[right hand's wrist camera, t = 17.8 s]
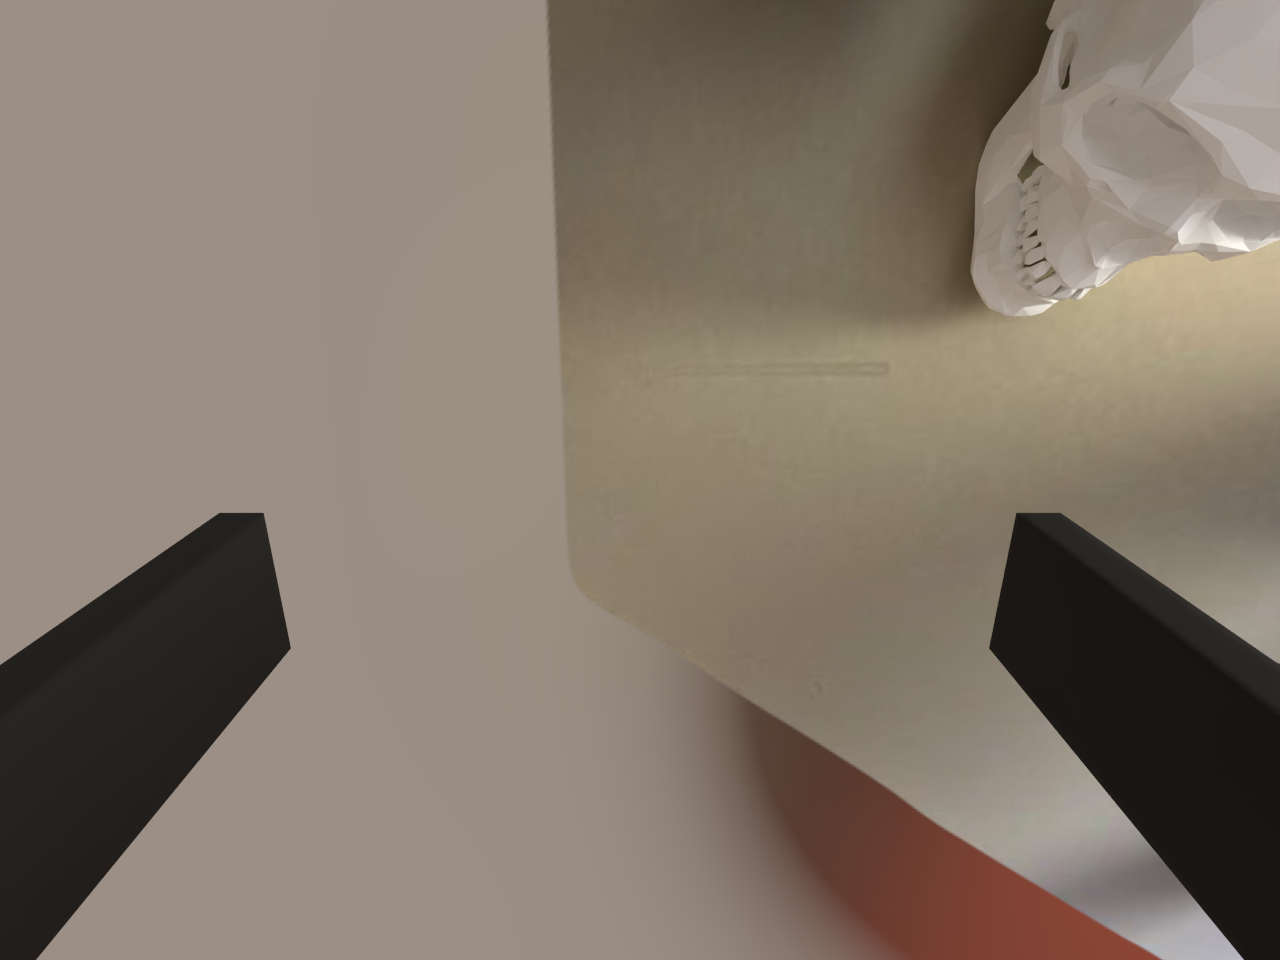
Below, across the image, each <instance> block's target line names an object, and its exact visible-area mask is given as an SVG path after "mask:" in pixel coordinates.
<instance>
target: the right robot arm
mask: <svg viewBox="0 0 1280 960" xmlns="http://www.w3.org/2000/svg"><path fill="white" fill-rule="evenodd" d="M290 649H291V647H290V642H289V637H288V632H287V627H286V622H285V617H284V612H283V607H282V602H281V597H280V593H279V587H278V583H277V577H276V573H275V568H274V563H273V558H272V553H271V548H270V543H269V538H268V533H267V528H266V523H265V518H264V513H219V514H217V515H216V516H214V517H213V518H212V519H210V520H209V521H207V522H206V523H204V524H203V525H202V526H200V527H199V528H197V529H196V530H194V531H193V532H191V533H190V534H189V535H187V536H186V537H184V538H183V539H181V540H180V541H178V542H177V543H176V544H174V545H173V546H171V547H170V548H168V549H167V550H165V551H164V552H163V553H161V554H160V555H158V556H157V557H155V558H154V559H152V560H151V561H150V562H148V563H147V564H145V565H144V566H142V567H141V568H140V569H138V570H137V571H135V572H134V573H132V574H131V575H129V576H128V577H127V578H125V579H124V580H122V581H121V582H119V583H118V584H116V585H115V586H114V587H112V588H111V589H109V590H108V591H106V592H105V593H103V594H102V595H101V596H99V597H98V598H96V599H95V600H93V601H92V602H90V603H89V604H88V605H86V606H85V607H83V608H82V609H80V610H79V611H78V612H76V613H75V614H73V615H72V616H70V617H69V618H67V619H66V620H65V621H63V622H62V623H60V624H59V625H57V626H56V627H54V628H53V629H52V630H50V631H49V632H47V633H46V634H44V635H43V636H42V637H40V638H39V639H37V640H36V641H34V642H33V643H31V644H30V645H29V646H27V647H26V648H24V649H23V650H21V651H20V652H18V653H17V654H16V655H14V656H13V657H11V658H10V659H8V660H7V661H6V662H4V663H3V664H1V665H0V960H36V959H37V958H38V957H39V955H40V954H41V953H42V952H43V951H44V949H45V948H46V947H47V946H48V944H49V943H50V942H51V941H52V939H53V938H54V937H55V936H56V935H57V933H58V932H59V931H60V930H61V929H62V927H63V926H64V925H65V924H66V922H67V921H68V920H69V919H70V918H71V916H72V915H73V914H74V913H75V911H76V910H77V909H78V908H79V906H80V905H81V904H82V903H83V902H84V900H85V899H86V898H87V897H88V895H89V894H90V893H91V892H92V891H93V889H94V888H95V887H96V886H97V884H98V883H99V882H100V881H101V880H102V878H103V877H104V876H105V875H106V873H107V872H108V871H109V870H110V869H111V867H112V866H113V865H114V864H115V862H116V861H117V860H118V859H119V858H120V856H121V855H122V854H123V853H124V851H125V850H126V849H127V848H128V847H129V845H130V844H131V843H132V842H133V840H134V839H135V838H136V837H137V836H138V834H139V833H140V832H141V831H142V829H143V828H144V827H145V826H146V825H147V823H148V822H149V821H150V820H151V818H152V817H153V816H154V815H155V814H156V812H157V811H158V810H159V809H160V807H161V806H162V805H163V804H164V803H165V801H166V800H167V799H168V798H169V796H170V795H171V794H172V793H173V792H174V790H175V789H176V788H177V787H178V785H179V784H180V783H181V782H182V781H183V779H184V778H185V777H186V776H187V774H188V773H189V772H190V771H191V770H192V768H193V767H194V766H195V765H196V763H197V762H198V761H199V760H200V759H201V757H202V756H203V755H204V754H205V752H206V751H207V750H208V749H209V748H210V746H211V745H212V744H213V743H214V741H215V740H216V739H217V738H218V737H219V735H220V734H221V733H222V732H223V730H224V729H225V728H226V727H227V726H228V724H229V723H230V722H231V721H232V719H233V718H234V717H235V716H236V715H237V713H238V712H239V711H240V710H241V708H242V707H243V706H244V705H245V704H246V702H247V701H248V700H249V699H250V697H251V696H252V695H253V694H254V693H255V691H256V690H257V689H258V688H259V686H260V685H261V684H262V683H263V682H264V680H265V679H266V678H267V677H268V675H269V674H270V673H271V672H272V671H273V669H274V668H275V667H276V666H277V664H278V663H279V662H280V661H281V660H282V658H283V657H284V656H285V655H286V653H287V652H288V651H289V650H290ZM989 649H990V650H991V651H992V652H993V653H994V655H995V656H996V657H997V658H998V660H999V661H1000V662H1001V663H1002V664H1003V666H1004V667H1005V668H1006V669H1007V671H1008V672H1009V673H1010V674H1011V675H1012V677H1013V678H1014V679H1015V680H1016V682H1017V683H1018V684H1019V685H1020V686H1021V688H1022V689H1023V690H1024V691H1025V693H1026V694H1027V695H1028V696H1029V697H1030V699H1031V700H1032V701H1033V702H1034V704H1035V705H1036V706H1037V707H1038V708H1039V710H1040V711H1041V712H1042V713H1043V715H1044V716H1045V717H1046V718H1047V719H1048V721H1049V722H1050V723H1051V724H1052V726H1053V727H1054V728H1055V729H1056V730H1057V732H1058V733H1059V734H1060V735H1061V737H1062V738H1063V739H1064V740H1065V741H1066V743H1067V744H1068V745H1069V746H1070V748H1071V749H1072V750H1073V751H1074V752H1075V754H1076V755H1077V756H1078V757H1079V759H1080V760H1081V761H1082V762H1083V763H1084V765H1085V766H1086V767H1087V768H1088V770H1089V771H1090V772H1091V773H1092V774H1093V776H1094V777H1095V778H1096V779H1097V781H1098V782H1099V783H1100V784H1101V785H1102V787H1103V788H1104V789H1105V790H1106V792H1107V793H1108V794H1109V795H1110V796H1111V798H1112V799H1113V800H1114V801H1115V803H1116V804H1117V805H1118V806H1119V807H1120V809H1121V810H1122V811H1123V812H1124V814H1125V815H1126V816H1127V817H1128V818H1129V820H1130V821H1131V822H1132V823H1133V825H1134V826H1135V827H1136V828H1137V829H1138V831H1139V832H1140V833H1141V834H1142V836H1143V837H1144V838H1145V839H1146V840H1147V842H1148V843H1149V844H1150V845H1151V847H1152V848H1153V849H1154V850H1155V851H1156V853H1157V854H1158V855H1159V856H1160V858H1161V859H1162V860H1163V861H1164V862H1165V864H1166V865H1167V866H1168V867H1169V869H1170V870H1171V871H1172V872H1173V873H1174V875H1175V876H1176V877H1177V878H1178V880H1179V881H1180V882H1181V883H1182V884H1183V886H1184V887H1185V888H1186V889H1187V891H1188V892H1189V893H1190V894H1191V895H1192V897H1193V898H1194V899H1195V900H1196V902H1197V903H1198V904H1199V905H1200V906H1201V908H1202V909H1203V910H1204V911H1205V913H1206V914H1207V915H1208V916H1209V918H1210V919H1211V920H1212V921H1213V922H1214V924H1215V925H1216V926H1217V927H1218V929H1219V930H1220V931H1221V932H1222V933H1223V935H1224V936H1225V937H1226V938H1227V940H1228V941H1229V942H1230V943H1231V944H1232V946H1233V947H1234V948H1235V949H1236V951H1237V952H1238V953H1239V954H1240V955H1241V957H1242V958H1243V959H1244V960H1280V664H1279V663H1276V662H1275V661H1273V660H1272V659H1270V658H1269V657H1267V656H1266V655H1264V654H1263V653H1262V652H1260V651H1259V650H1257V649H1256V648H1254V647H1253V646H1252V645H1250V644H1249V643H1247V642H1246V641H1244V640H1243V639H1241V638H1240V637H1239V636H1237V635H1236V634H1234V633H1233V632H1231V631H1230V630H1228V629H1227V628H1226V627H1224V626H1223V625H1221V624H1220V623H1218V622H1217V621H1215V620H1214V619H1213V618H1211V617H1210V616H1208V615H1207V614H1205V613H1204V612H1202V611H1201V610H1200V609H1198V608H1197V607H1195V606H1194V605H1192V604H1191V603H1190V602H1188V601H1187V600H1185V599H1184V598H1182V597H1181V596H1179V595H1178V594H1177V593H1175V592H1174V591H1172V590H1171V589H1169V588H1168V587H1166V586H1165V585H1164V584H1162V583H1161V582H1159V581H1158V580H1156V579H1155V578H1153V577H1152V576H1151V575H1149V574H1148V573H1146V572H1145V571H1143V570H1142V569H1140V568H1139V567H1138V566H1136V565H1135V564H1133V563H1132V562H1130V561H1129V560H1128V559H1126V558H1125V557H1123V556H1122V555H1120V554H1119V553H1117V552H1116V551H1115V550H1113V549H1112V548H1110V547H1109V546H1107V545H1106V544H1104V543H1103V542H1102V541H1100V540H1099V539H1097V538H1096V537H1094V536H1093V535H1091V534H1090V533H1089V532H1087V531H1086V530H1084V529H1083V528H1081V527H1080V526H1078V525H1077V524H1076V523H1074V522H1073V521H1071V520H1070V519H1068V518H1067V517H1066V516H1064V515H1063V514H1061V513H1016V518H1015V523H1014V528H1013V533H1012V538H1011V543H1010V548H1009V553H1008V558H1007V563H1006V568H1005V573H1004V577H1003V582H1002V587H1001V592H1000V597H999V602H998V607H997V612H996V617H995V622H994V627H993V632H992V637H991V642H990V647H989Z"/></svg>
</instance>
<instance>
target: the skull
mask: <svg viewBox="0 0 1280 960" xmlns="http://www.w3.org/2000/svg"><path fill="white" fill-rule="evenodd" d="M1046 25H1047V27H1048V28H1049V30H1054V31H1053V33H1052V34H1051V36H1050V39H1049V42H1048V45H1047V48H1046V51H1045V54H1044V57H1043V59H1042V62H1041V65H1040V68H1039V71H1038V74H1037V75H1036V76H1035V77H1034V79H1033V80H1032V81H1031V82H1030V84H1029V85H1028V86H1027V88H1026V89H1025V90H1024V91H1023V93H1022V94H1021V95H1020V96H1019V98H1018V99H1017V100H1016V102H1015V103H1014V104H1013V105H1012V107H1011V108H1010V109H1009V111H1008V112H1007V113H1006V114H1005V116H1004V117H1003V118H1002V119H1001V121H1000V122H999V123H998V125H997V126H996V127H995V128H994V130H993V131H992V133H991V135H990V137H989V139H988V141H987V144H986V147H985V149H984V152H983V155H982V157H981V160H980V163H979V167H978V174H977V181H976V188H975V235H974V244H973V252H972V261H971V270H970V271H971V275H972V278H973V282H974V285H975V288H976V289H977V291H978V293H979V295H980V297H981V299H982V300H983V302H984V303H985V304H986V306H987V307H988V308H990V309H992V310H994V311H996V312H998V313H1000V314H1002V315H1004V316H1005V317H1007V316H1032V315H1036V314H1040V313H1042V312H1044V311H1045V310H1046V309H1048V308H1049V307H1050V306H1052V305H1053V304H1054V303H1055V302H1057V301H1062V300H1066V299H1069V298H1071V299H1080V298H1082V297H1083V296H1084V295H1085V294H1086V293H1087V292H1088V291H1089V290H1090V289H1092V288H1097V287H1099V286H1101V285H1103V284H1106V283H1107V282H1108V281H1109V280H1110V279H1111V278H1113V277H1114V276H1115V275H1116V274H1117V273H1118V272H1120V271H1121V270H1122V269H1123V268H1124V267H1125V266H1126V265H1128V264H1130V263H1133V262H1136V261H1139V260H1142V259H1145V258H1147V257H1150V256H1165V255H1173V254H1181V253H1188V252H1197V253H1199V254H1201V255H1202V256H1204V257H1206V258H1207V259H1209V260H1210V261H1216V260H1221V259H1227V258H1230V257H1234V256H1238V255H1241V254H1245V253H1248V252H1252V251H1254V250H1256V249H1258V248H1261V247H1263V246H1265V245H1268V244H1270V243H1272V242H1275V241H1277V240H1279V239H1280V0H1055V1H1054V3H1053V6H1052V9H1051V11H1050V14H1049V16H1048V19H1047V22H1046ZM1070 64H1071V66H1070V71H1069V75H1070V82H1069V86H1068V87H1067V88H1066V89H1064V90H1062V89H1061V88H1062V86H1063V83H1064V81H1065V77H1066V73H1067V68H1068V66H1069V65H1070ZM1032 151H1033V154H1034V157H1035V158H1037V159H1038V160H1039V161H1040V162H1042V163H1043V164H1044V165H1042V166H1038V167H1037V168H1036V169H1035V170H1034V172H1033V173H1032V176H1030V177H1029V178H1027V179H1026V180H1025V181H1024V183H1022V182H1021V180H1020V179H1019V178H1018V176H1017V175H1018V174H1019V172H1020V170H1021V169H1022V167H1023V166H1024V164H1025V162H1026V161H1027V159H1028V158H1029V156H1030V155H1031V153H1032ZM1037 184H1039V185H1038V186H1037ZM1025 210H1027V211H1026V212H1025ZM1024 212H1025V215H1024ZM1035 230H1037V233H1038V235H1036V236H1033V237H1029V236H1030V234H1032V233H1033V232H1034V231H1035ZM1040 242H1041V246H1040V247H1037V248H1034V247H1036V246H1037V245H1038V244H1039V243H1040ZM1021 245H1023V247H1022V249H1021ZM1033 248H1034V249H1033ZM1044 257H1045V258H1046V260H1047V261H1042V262H1040V263H1038V264H1036V265H1034V266H1032V267H1024V266H1023V262H1024V261H1025V262H1024V264H1027V265H1030V264H1033V263H1035V262H1037V261H1039V260H1041V259H1044ZM1051 266H1052V267H1053V268H1054V270H1055V271H1054V272H1052V273H1051V274H1049V275H1048V276H1046V277H1044V278H1042V279H1041V280H1039V281H1038V279H1039V278H1040V277H1041V276H1043V275H1044V274H1045V273H1047V271H1048V270H1049V268H1050V267H1051ZM1028 275H1029V276H1028Z"/></svg>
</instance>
